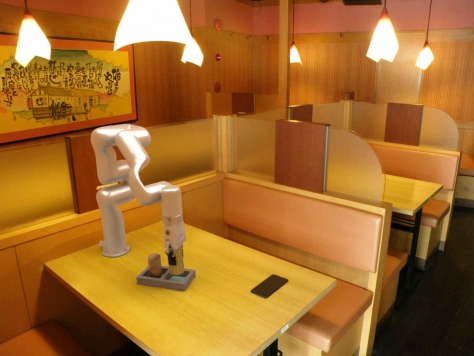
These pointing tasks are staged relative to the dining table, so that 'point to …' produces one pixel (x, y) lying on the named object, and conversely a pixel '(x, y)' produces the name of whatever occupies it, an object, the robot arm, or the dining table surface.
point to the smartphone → (269, 286)
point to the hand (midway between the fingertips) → (176, 260)
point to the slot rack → (167, 279)
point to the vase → (179, 261)
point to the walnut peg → (154, 266)
